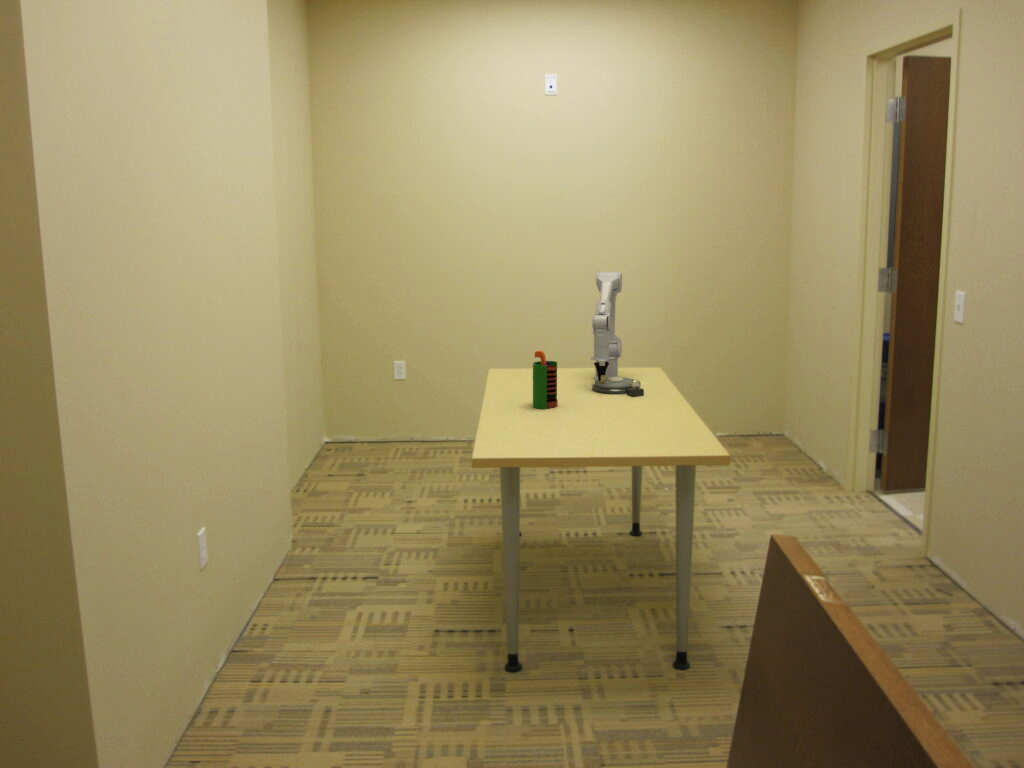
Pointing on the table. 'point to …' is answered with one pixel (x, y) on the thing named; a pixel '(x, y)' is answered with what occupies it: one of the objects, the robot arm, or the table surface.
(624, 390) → the plinth
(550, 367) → the motor
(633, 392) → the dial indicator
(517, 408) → the table surface
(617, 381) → the disc
